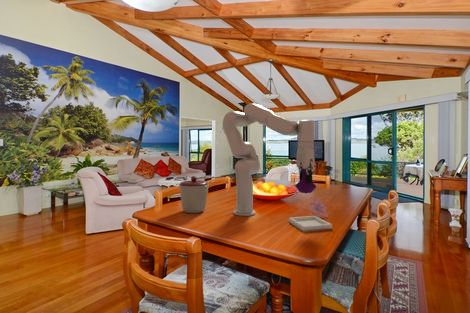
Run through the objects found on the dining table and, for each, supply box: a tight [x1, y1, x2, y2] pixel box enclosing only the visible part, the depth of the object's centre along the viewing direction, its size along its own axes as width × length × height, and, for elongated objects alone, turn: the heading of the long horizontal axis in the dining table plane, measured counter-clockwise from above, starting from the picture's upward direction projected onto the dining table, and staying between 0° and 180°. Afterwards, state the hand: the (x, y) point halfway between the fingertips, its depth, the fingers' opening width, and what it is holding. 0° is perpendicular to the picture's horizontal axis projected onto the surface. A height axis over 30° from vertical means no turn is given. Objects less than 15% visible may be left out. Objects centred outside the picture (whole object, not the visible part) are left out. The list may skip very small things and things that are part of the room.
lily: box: [308, 197, 329, 218], centre depth 145 cm, size 12×12×10 cm
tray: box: [288, 215, 333, 233], centre depth 128 cm, size 15×15×2 cm
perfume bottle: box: [294, 163, 317, 194], centre depth 127 cm, size 8×8×18 cm
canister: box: [178, 175, 210, 214], centre depth 153 cm, size 18×18×21 cm
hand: (305, 181), depth 127 cm, fingers closed on perfume bottle, 5 cm apart
